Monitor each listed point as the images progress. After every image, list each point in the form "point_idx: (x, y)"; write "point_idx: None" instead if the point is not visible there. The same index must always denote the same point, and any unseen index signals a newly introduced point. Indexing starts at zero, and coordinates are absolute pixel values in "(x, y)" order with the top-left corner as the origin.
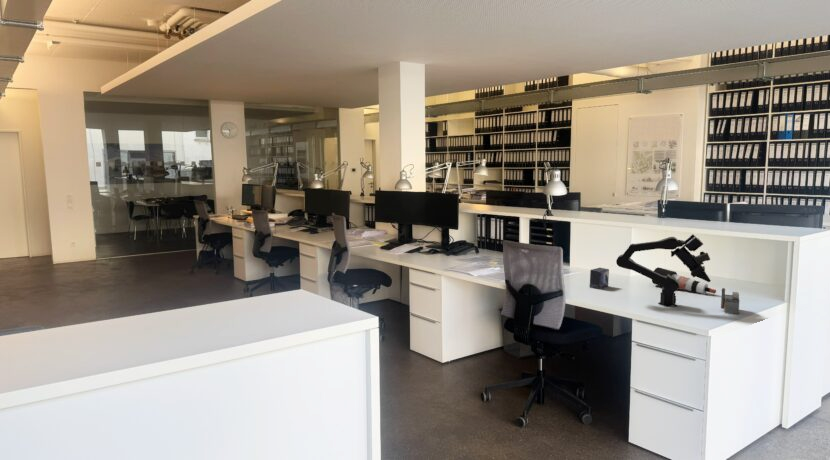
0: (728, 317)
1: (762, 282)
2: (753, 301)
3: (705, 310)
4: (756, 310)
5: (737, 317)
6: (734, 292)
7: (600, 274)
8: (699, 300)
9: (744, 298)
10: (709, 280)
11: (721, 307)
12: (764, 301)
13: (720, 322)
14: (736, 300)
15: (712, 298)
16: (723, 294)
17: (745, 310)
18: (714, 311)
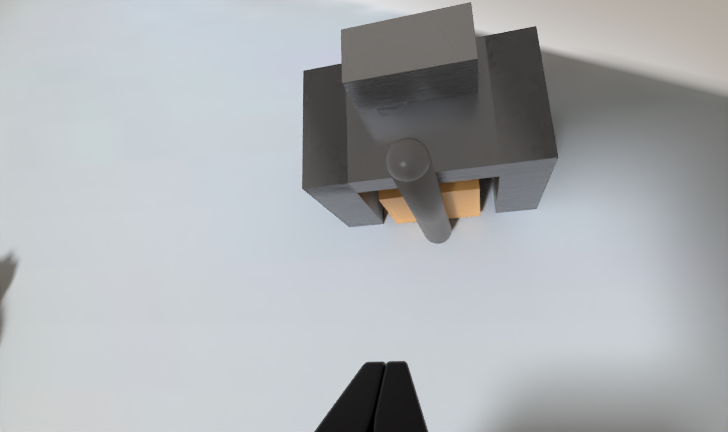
0: (711, 170)
1: None
2: (92, 70)
3: (533, 380)
4: (327, 23)
5: (654, 105)
6: (371, 60)
7: None
8: (156, 427)
9: (30, 122)
10: (415, 392)
11: (447, 235)
12: (78, 21)
13: None
14: (540, 55)
15: (68, 318)
16: (437, 180)
17: None
18: (527, 296)
